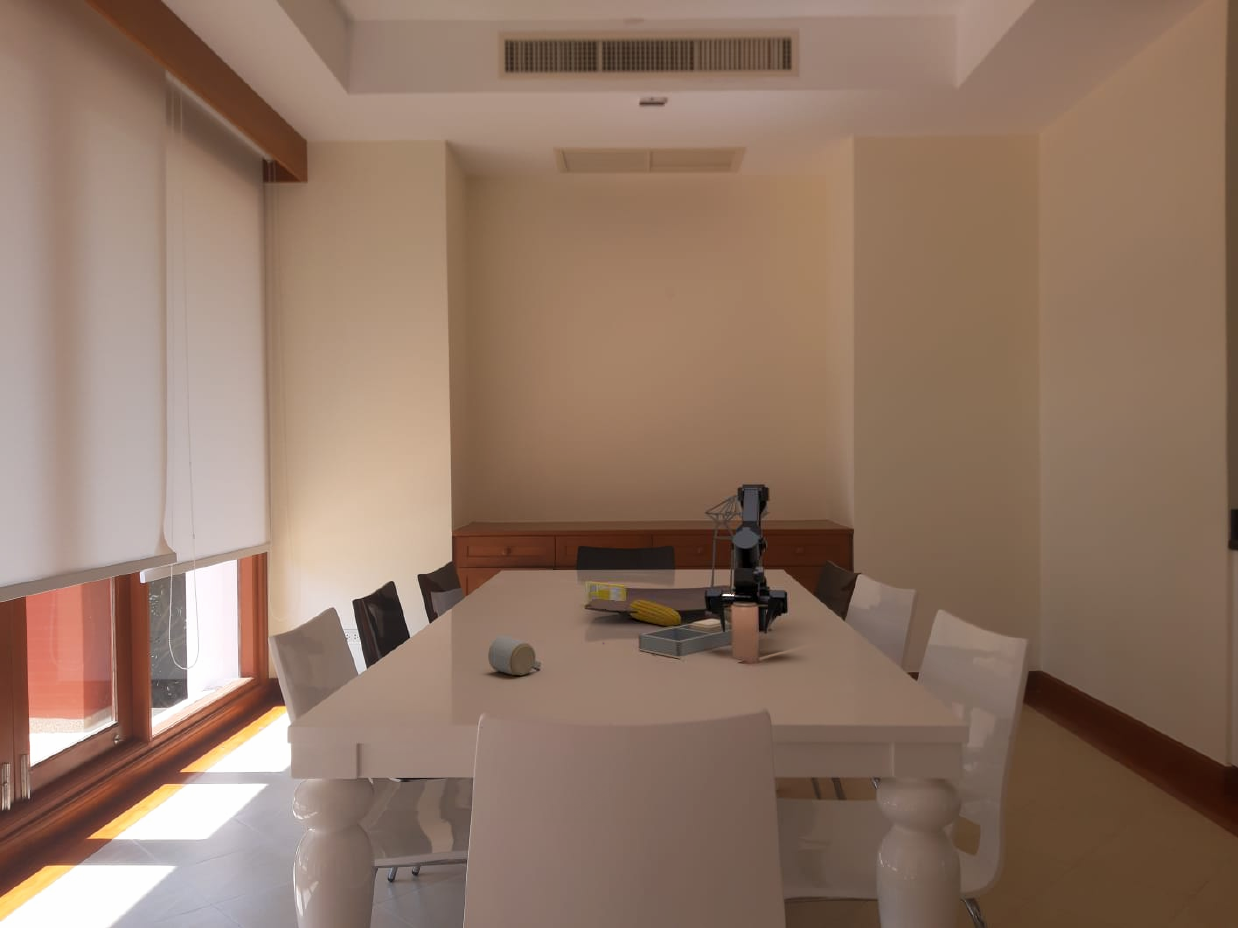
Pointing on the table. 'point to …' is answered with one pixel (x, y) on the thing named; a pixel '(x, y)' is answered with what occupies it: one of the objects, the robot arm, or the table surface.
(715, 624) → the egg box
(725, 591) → the geometric lantern
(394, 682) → the table surface
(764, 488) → the robot arm
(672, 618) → the food
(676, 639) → the tray
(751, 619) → the pink beverage can
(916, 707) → the table surface
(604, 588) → the candy box
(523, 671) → the ceramic mug
